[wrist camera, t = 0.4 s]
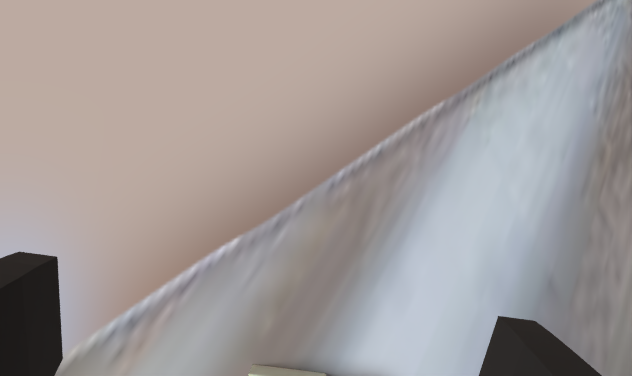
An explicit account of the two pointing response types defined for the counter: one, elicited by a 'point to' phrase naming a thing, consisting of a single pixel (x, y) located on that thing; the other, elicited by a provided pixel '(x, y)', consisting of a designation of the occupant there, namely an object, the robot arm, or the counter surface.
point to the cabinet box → (279, 371)
